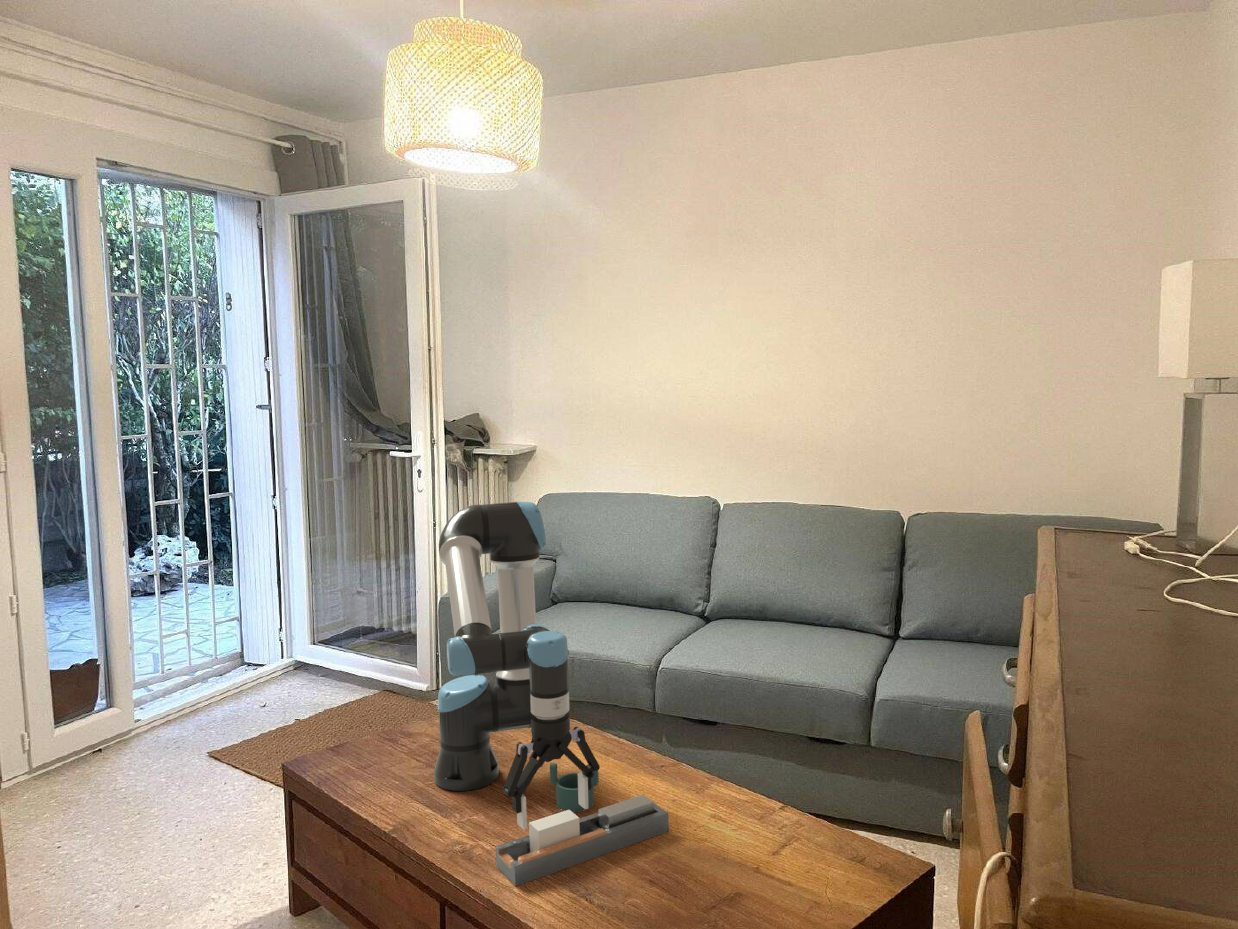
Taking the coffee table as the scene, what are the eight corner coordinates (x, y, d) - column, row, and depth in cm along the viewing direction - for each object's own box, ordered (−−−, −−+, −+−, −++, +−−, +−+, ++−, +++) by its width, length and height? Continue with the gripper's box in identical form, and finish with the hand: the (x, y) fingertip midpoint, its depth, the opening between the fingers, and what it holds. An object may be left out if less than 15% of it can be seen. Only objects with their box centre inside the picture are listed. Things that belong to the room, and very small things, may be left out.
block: (530, 861, 176) (528, 822, 175) (570, 847, 181) (569, 809, 180) (539, 870, 173) (538, 831, 172) (580, 856, 177) (579, 817, 177)
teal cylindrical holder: (602, 805, 198) (601, 766, 197) (565, 816, 193) (563, 776, 192) (583, 790, 206) (581, 752, 205) (546, 800, 201) (545, 761, 200)
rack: (496, 866, 175) (495, 836, 174) (645, 814, 193) (645, 788, 192) (515, 886, 167) (514, 856, 167) (668, 831, 186) (668, 803, 185)
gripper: (499, 735, 164) (503, 844, 167) (615, 704, 177) (617, 806, 180) (482, 721, 170) (486, 827, 173) (595, 692, 183) (598, 790, 186)
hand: (553, 816), depth 176 cm, fingers open, 13 cm apart
